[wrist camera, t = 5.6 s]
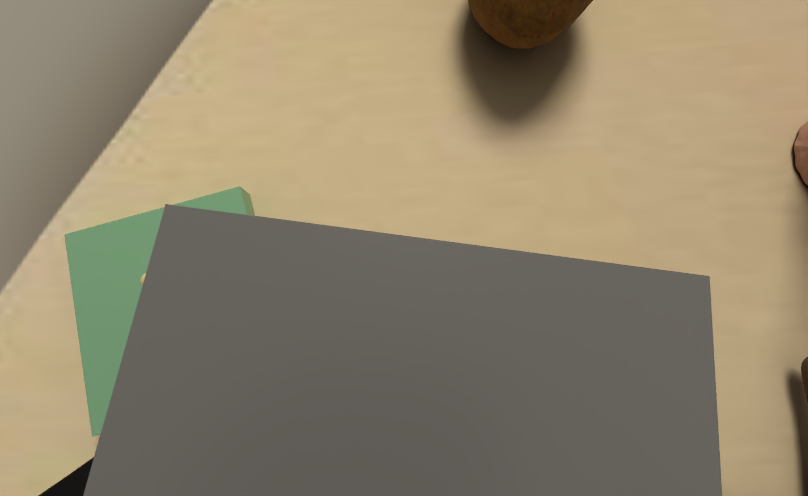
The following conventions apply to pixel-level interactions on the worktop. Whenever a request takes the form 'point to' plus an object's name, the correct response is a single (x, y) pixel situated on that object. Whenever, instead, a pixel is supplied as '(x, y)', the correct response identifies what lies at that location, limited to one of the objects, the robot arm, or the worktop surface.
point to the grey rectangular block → (404, 370)
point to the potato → (526, 19)
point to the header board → (119, 288)
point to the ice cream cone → (802, 152)
